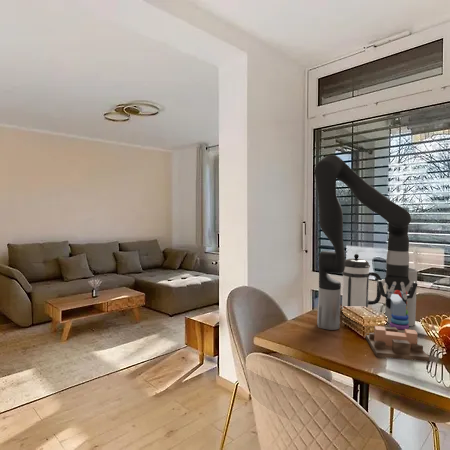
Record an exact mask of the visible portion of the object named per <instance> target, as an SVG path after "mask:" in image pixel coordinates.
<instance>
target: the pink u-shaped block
mask: <svg viewBox="0 0 450 450" xmlns="http://www.w3.org/2000/svg"><path fill="white" fill-rule="evenodd" d="M373 333H374V341H383V342H385V343H386V345H387V346H392V339H394V340H406V341H408V342H409V343H410V348H411V344H418V332H417V331H416V330H415V329H409V330H408V329H405V333H400V332H391V331H386V330H385V327H382V325H381V326H380V325H374V332H373Z"/></svg>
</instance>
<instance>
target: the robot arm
mask: <svg viewBox="0 0 450 450" xmlns="http://www.w3.org/2000/svg"><path fill="white" fill-rule="evenodd" d="M314 179H315V184H316V188H317V194H318V196H317V197H318V214H319V215H318V219H319V227H320V229H321V231H322V233H323V234H324V235H325V236H326V237H327V239H328V240H329V241H330V243H331V244H332V246H333V249H334V251H329V250H322V251H321V252H320V253H319V256H318V299H317V300H318V301H317V321H316V323H317V328H318V329H319V328H320V329H323V330H331V331H333V330H334V331H335V330H339V329H340V325H341V319H340V318H341V310H340V309H341V294H342V293H341V292H342V290H341V289H342V286H341V285H342V284H341V282H340V281H339V280H337V279H334V278H333V277H332V276H330V275H329V274H328V273H331V274H343V271H344V269H345V260H346V255H345V247H344V246H345V245H344V217H343V216H344V215H343V214H344V213H343V208H342V204H341V203H340V201H339V198H338V197H337V180H338V181H340V182H342V183H343V184H345V185H346V186H347V188H349V190H350V191H351V192H352V194H353V195H354V196H355V198H356V199H357V200H358V201H359V202H360V203H361V204H362V205H364V206H365V207H366V208H367V209H369V210H370V211H372V212H373V213H375V214H377V215H379V216H380V217H381V218H382V219H384V220H385V221H386V222H388V223H387V224H388V225H387V226H388V229H387V230H388V238H387V254H386V259H385V262H386V267H385V268H386V270H385V277H384V278H383V279H381V280H377V279H376V284H378V287H379V290H380V294H381V297H383V298H385V304H386V306H387V308H388V309H390V307H391V299H390V298H391V295H392V293H393V291H394V290H399V291H400V292H401V295H402V298H401V299H402V300H403V301H404V303H405V304H406V305H407V299H409V298H412V297H413V295H414V292H415V290H416V287H418V282H417V283H415V282H412V281H410V280H409V278H408V276H409V268H410V238H409V235H408V234H409V225H410V223H411V221H412V217H411V214H410V213H409V211H408V210H406V209H405V208H403V207H402V206H400V205H398V204H397V203H396V202H394V201H392V200H390V199H389V198H388V197H387V196H386V195H384V194H383V193H382V192H380V191H378V189H376V188H375V187H373V186H372V185H370V184H369V183H368V182H367V181H365V180H364V179H363V178H362V177H360V176H359V174H357V172H355V171H354V170H353V169H352V167H350V166H349V165H348V164H347V163H346V162H345V161H344V160H343V159H342V158H341V157H339V156H338V155H335V154H329V155H327V156H325V157H323V158H322V159H321V160H319V161H318V162H317V164H316V165H315V167H314ZM386 284H387V285H388V289H387V293H386V291H385V289H384V286H385V285H386ZM408 284H409V286H410V289H409V291H408V294H407V295H406V290H405V287H406V286H407V285H408ZM416 291H417V290H416Z"/></svg>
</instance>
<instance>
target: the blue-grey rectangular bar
mask: <svg viewBox="0 0 450 450" xmlns="http://www.w3.org/2000/svg"><path fill="white" fill-rule="evenodd" d="M390 299H391V307H390V310H391V312H392V314H393V315H397V316H406V304H405V303H404V301H403V300H402V299H401V297H400V296H399V295H398V294H392V295H391V298H390Z"/></svg>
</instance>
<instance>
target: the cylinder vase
mask: <svg viewBox="0 0 450 450" xmlns="http://www.w3.org/2000/svg"><path fill="white" fill-rule="evenodd" d="M408 278H409V280H410V281H412V282H415V283H417V284H418V269H415V268H410V267H409V276H408ZM417 287H418V286H417ZM417 287H416V290H415V292H414V295H413V297H412V298H409V299H407V305H406V306H407V309H406V310H407V311H408V314H407V315H408V317H409V318H408V320H409V323H408V325H409V326H411V327H413V325H414V326H415V325H416V311H417V310H416V309H417ZM387 289H388V285H387V284H386V283H385V293H387ZM409 289H410V286H409V284H408V285H407V286H406V287H405V290H406V291H407V294H408V291H409ZM394 292H395V290H394V291H393V293H392V294H394ZM384 304H385V305H384V307H385V309H384V311H385V312H384V317H385V316H387V318H388V323H387V324H389V325H390V322H391V318H392V316H391V315H392V312H391V310H390V309H388V308H387V306H386V303H384Z"/></svg>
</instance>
